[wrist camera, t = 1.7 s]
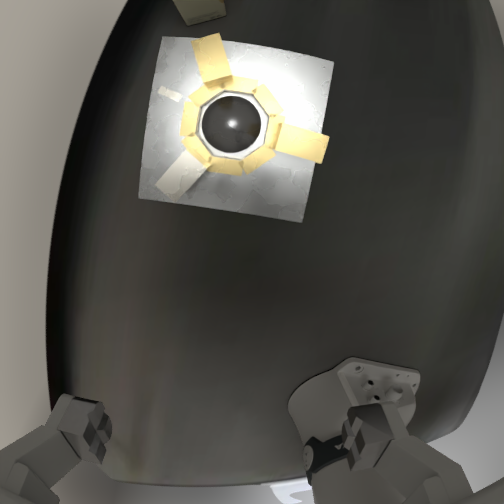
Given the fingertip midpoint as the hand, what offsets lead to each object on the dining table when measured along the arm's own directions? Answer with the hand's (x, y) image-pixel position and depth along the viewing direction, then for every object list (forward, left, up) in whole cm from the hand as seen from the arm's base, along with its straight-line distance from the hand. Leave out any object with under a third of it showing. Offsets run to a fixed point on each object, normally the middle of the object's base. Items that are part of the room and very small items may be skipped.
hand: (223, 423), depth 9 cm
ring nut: (+1, -9, -24) cm, 26 cm away
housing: (+2, -9, -26) cm, 27 cm away
